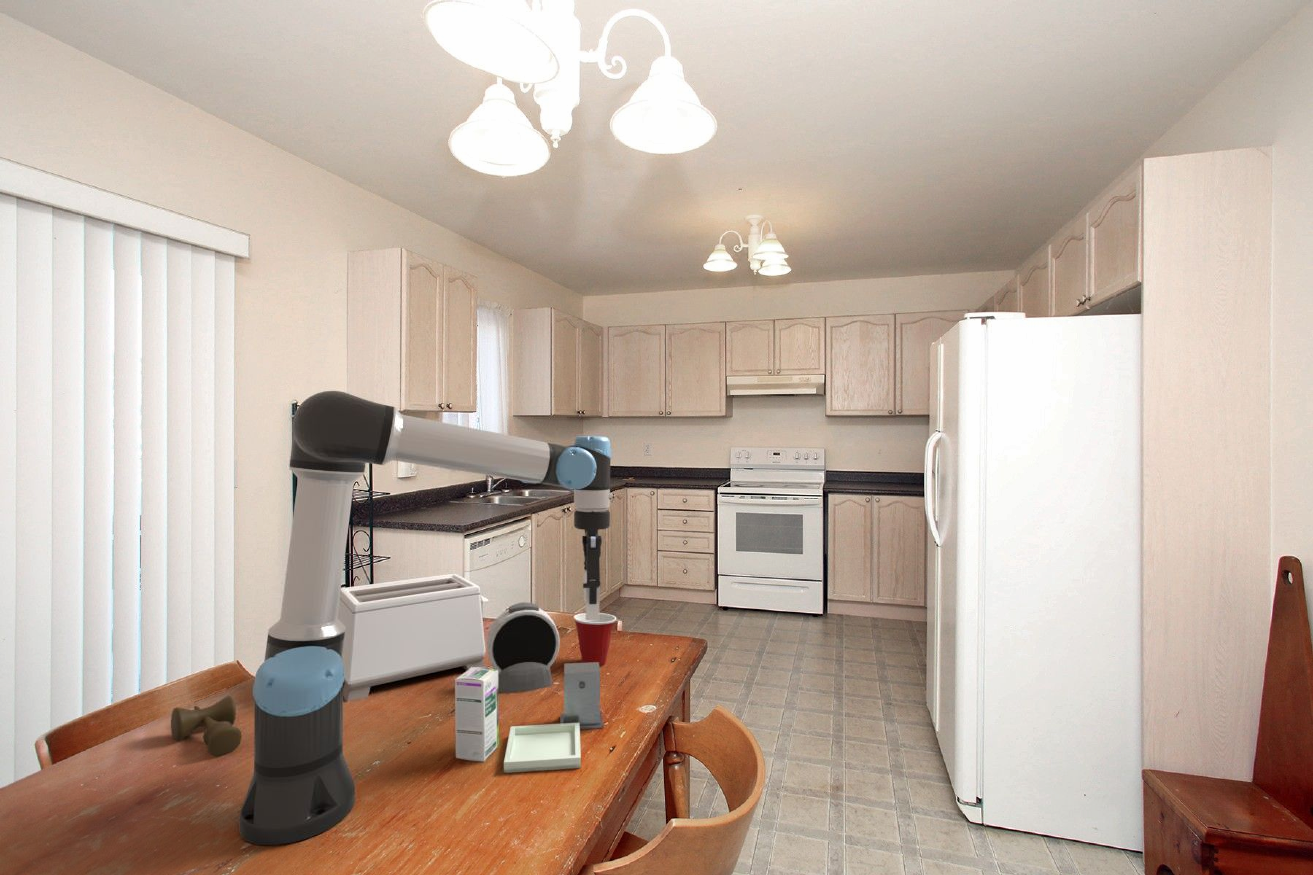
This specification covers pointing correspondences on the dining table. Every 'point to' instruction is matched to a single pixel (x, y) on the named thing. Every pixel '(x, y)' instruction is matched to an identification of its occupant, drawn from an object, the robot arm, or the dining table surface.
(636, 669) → the dining table surface
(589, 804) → the dining table surface
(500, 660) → the alarm clock
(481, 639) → the toaster
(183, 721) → the kendama
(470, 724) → the syrup box
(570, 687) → the gray phone stand
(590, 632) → the plastic cup
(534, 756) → the tray
